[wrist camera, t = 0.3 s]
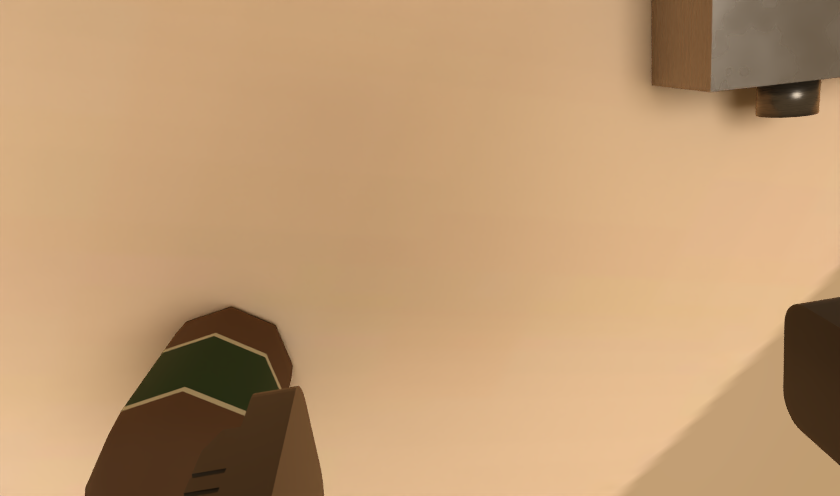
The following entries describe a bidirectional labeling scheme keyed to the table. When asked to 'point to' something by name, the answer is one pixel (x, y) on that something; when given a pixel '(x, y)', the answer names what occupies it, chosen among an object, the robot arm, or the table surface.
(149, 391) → the beer bottle
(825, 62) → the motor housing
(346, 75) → the table surface
